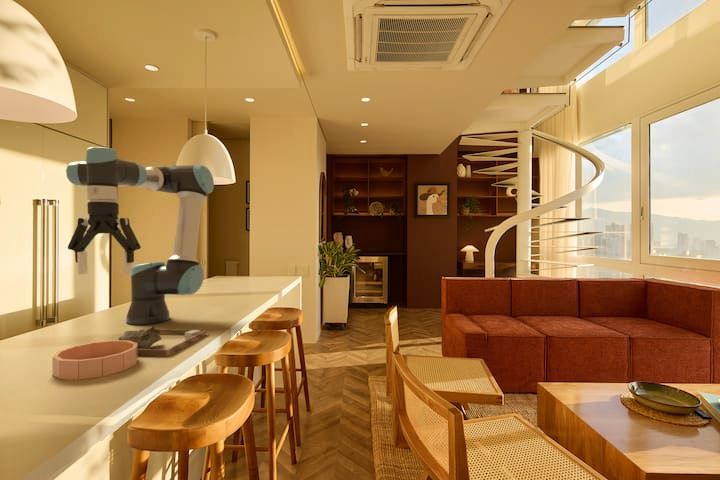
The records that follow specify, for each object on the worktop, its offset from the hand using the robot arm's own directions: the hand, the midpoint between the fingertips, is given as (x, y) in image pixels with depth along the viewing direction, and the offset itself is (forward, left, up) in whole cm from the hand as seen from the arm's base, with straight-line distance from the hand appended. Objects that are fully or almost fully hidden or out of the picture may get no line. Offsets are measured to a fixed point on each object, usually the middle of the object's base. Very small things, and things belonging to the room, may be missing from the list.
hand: (105, 274), depth 110 cm
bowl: (+11, +7, -23) cm, 27 cm away
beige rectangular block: (-18, +17, -24) cm, 34 cm away
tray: (-10, +10, -23) cm, 27 cm away
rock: (-7, +6, -23) cm, 24 cm away
